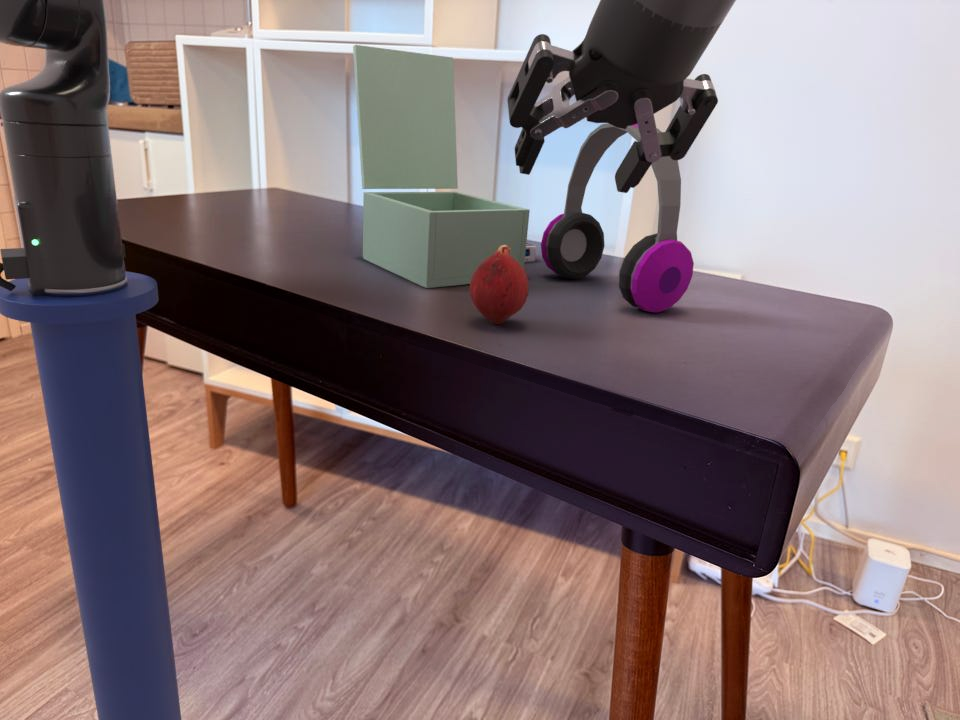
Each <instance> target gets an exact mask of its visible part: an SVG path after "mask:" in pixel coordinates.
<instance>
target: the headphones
mask: <svg viewBox="0 0 960 720" xmlns="http://www.w3.org/2000/svg"><path fill="white" fill-rule="evenodd" d="M656 128H657V133H659V132H662V131H661V130H660V128H659V127H656ZM627 133H628V134H629V136H631V138H633V139H634V141H637V142H639V141H640V140H641V137H640V133H639V129H638V125H637V124H635V125H632V126H627V128H626V129H622V128H617V127H615V126H613V125H611V124H609V123H600V125H599V126H597V127H596V128H594V129H593V130H592V131H591V132H590V133H589V134H588V135H587V137H586V138H585V140H584V142H583V143H582V145H581V146H580V148H579V150H578V151H579V152H578V154H577V157H576V159H575V162H574V165H573V168H572V171H571V174H570V177H569V181H568V184H567V190H566V197H565V204H564V210H563V213H561V214H559V215H557V216H555V217H554V218H553V219H552V220H551V221H549V223H548V224H547V226H546V228H545V229H544V231H543V233H542V238H541V242H540V251H541V258H542V260H543V262H544V263H545V266H546V267H547V268H548V269H549V270H551V272H553V273H554V274H555V275H559V276H560V277H562V278H565V279H570V280H577V279H583V278H584V277H587V276H588V275H589V274H591V273H592V272H593V271H594V270H595V269H596V268H597V266H598V264H599V263H600V262H601V260H602V259H603V253H604V249H605V232H604V230H603V228H602V226H601V223H600V222H599V221H598V220H597V219H596V218H595V217H594V216H593V215H592V214H590V213H585V212H583V210H582V207H583V202H584V199H585V193H586V189H587V185H588V184H589V182H590V179H591V177H592V174H593V172H594V170H595V168H596V167H597V166H598V163H599V162H600V161H601V159H602V157H603V156H604V154H605V153H606V151H607V150H608V149H609V148H610V147H611V146H612V145H613V144H614V143H615V142H616V141H617V140H618V139H619V138H620V137H623V136H624V135H626V134H627ZM679 165H680V164H679V160H672V159H671V157H670V156H666V157H661V158H660V159H659V160H657V161H655V162H653V163H652V164H651V166H650V167H651V168H652V171H653V174H654V177H655V179H656V183H657V185H656V186H657V198H658V217H657V232H656V233H653V234H649V235H645V236H644V237H643V238H642V239H640V240H639V241H637V242H636V243H635V244H633V246H632V247H631V248H630V250H629V251H628V252H627V254H626V255H625V256H624V258H623V261H622V264H621V267H620V269H619V272H618V273H619V275H618V276H619V277H618V278H619V279H618V287H619V291H620V293H621V296H622V298H623V299H624V301H626V302H627V303H628V304H630V305H631V306H632V307H635V308H640V309H641V311H644V312H651V313H660V312H663V311H666V310H669V309H670V308H671V307H673V306H674V305H675V304H677V303H678V302H679V301H680V300H681V298H682V297H683V296H684V294H685V293H686V292H687V291H688V288H689V286H690V284H691V282H692V279H693V274H694V265H695V263H694V259H693V255H692V251H691V250H690V249H689V248H688V247H687V246H686V245H685V244H684V243H683V241H680V240H678V228H679V219H680V212H681V204H682V203H681V200H682V199H681V197H682V177H681V171H680V166H679Z"/></svg>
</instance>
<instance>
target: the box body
mask: <svg viewBox="0 0 960 720" xmlns="http://www.w3.org/2000/svg"><path fill="white" fill-rule="evenodd" d="M362 194H363V195H362V196H363V197H362V198H363V199H362V201H363V204H362V205H363V209H362V259H363V260H365V261H367V262H369V263H372V264H374V265H375V266H378V267H379V268H382V269H384V270H386V271H388V272H390V273H393V274H395V275H397V276H399V277H401V278H404V279H405V280H407V281H410V282H412V283H413V284H416V285H419V286H421V287H423V288H425V289H433V288H434V289H435V288H442V287H452V286H453V287H454V286H462V285H470V283H471V278H472V276H473V274H474V272H475V271H476V269H477V268H478V266H479V265H480V264H481V263H482V262H483V261H484V260H485V259H487V258H488V257H490V256H492V255H493V254H494V253H495V252H496V251H497V249H498V248H499V247H500V246H502V245H507V246H508V247H509V248H510V249H511V251H510V256H511V257H512V258H514V259H515V260H516V261H517V262H518V263H519V264H520V265H521V266H522V268H523V269H524V270H525V263H526V262H525V253H526V243H528V242H527V241H528V231H529V221H530V212H531V211H530V209H529V208H524V207H521V206H516V205H512V204H507V203H504V202H499V201H496V200H491V199H488V198H484V197H480V196H475V195H471V194H467V193H463V192H459V191H377V192H376V191H373V192H371V191H368V192H367V191H364V192H363V193H362Z"/></svg>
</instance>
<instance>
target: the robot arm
mask: <svg viewBox="0 0 960 720" xmlns="http://www.w3.org/2000/svg"><path fill="white" fill-rule="evenodd" d="M736 1H737V0H600V1H599V2H598V5H597V7H596V9H595V12H594V14H593V17H592V18H591V21H590V23H589V24H588V28H587V31H586V34H585V36H584V39H583V40H582V41H581V42H580V43H579V44H578V45H577V46H576V47H575V48H574V49H573V50H568V49H565V48H563V47H559V46H556V45H552V41H551V37H549V35H548V34H544V33H541V34H540V33H539V34H538V35H536V36H535V37H534V38H533V40H532V42H531V44H530V47H529V49H528V51H527V53H526V56H525V58H524V60H523V63H522V65H521V66H520V69H519V71H518V73H517V75H516V78H515V80H514V83H513V85H512V87H511V90H510V92H509V93H508V96H507V98H506V99H507V108H508V109H507V111H508V119H509V120H508V121H509V125H510V126H511V127H512V128H514V129H515V128H516V129H519V128H521V131H520V134H519V136H518V138H517V141H516V143H515V145H514V158H515V166H516V167H518V169H519V174H522V175H528V176H530V174H531V173H532V170H533V168H534V166H535V164H536V161H537V159H538V157H539V155H540V152H541V151H542V148H543V146H544V144H545V142H546V141H545V137H547V136H549V135H550V134H552V133H553V132H555V131H556V130H558V129H560V128H563V129H569V128H571V127H572V126H574V125H575V124H577V123H579V122H581V121H582V120H584V119H585V118H586V122H589V123H595V124H607V123H609V124H611V125H613V126H615V127H617V128H622V129H626V128H627V126H632V125H635V124H637V125H638V129H639V133H640V137H641V140H640V141H639V142H638V141H636V140H634V141H633V143H632V145H631V146H630V148H629V149H628V151H627V153H626V155H625V156H624V158H623V159H622V161H621V163H620V164H619V166H618V168H617V169H616V171H615V173H614V181H615V186H616V187H615V188H616V191H617V192H618V193H624V194H627V193H629V191H630V189H634V188H636V187H637V186H639V184H640V182H641V181H642V180H643V178H644V177H645V175H646V174H647V172H648V170H649V169H650V168H651V167H652V166H651V164H652V163H653V162H655V161H657V160H659V159H660V158H661V157H666V156H670V157H671V159H672V160H678V161H680V160H682V159H684V158H685V157H686V156H687V154H688V152H689V150H690V149H691V147H692V146H693V144H694V142H695V141H696V139H697V138H698V136H699V135H700V132H701V131H702V130H703V128H704V126H705V125H706V123H707V121H708V120H709V118H710V116H711V114H712V113H713V111H714V110H715V108H716V106H717V105H718V103H719V99H718V95H717V92H716V89H715V86H714V83H713V81H712V78H711V76H710V75H709V74H707V73H701V74H699V75H698V76H696V77H695V78H694V79H692V78H688V77H689V76H690V75H691V73H692V72H693V70H695V68H696V66H697V64H698V62H699V61H700V59H701V58H702V56H703V54H704V53H705V51H706V50H707V48H708V46H709V45H710V43H711V41H712V40H713V38H714V37H715V35H716V34H717V32H718V31H719V29H720V27H721V26H722V24H723V22H724V21H725V19H726V17H727V16H728V14H729V12H730V11H731V9H732V8H733V6H734V4H735V3H736ZM105 6H106V5H105V0H0V43H2V44H5V45H8V46H14V47H21V48H22V47H23V48H28V49H29V48H30V49H37V50H45V61H44V62H45V63H44V67H43V68H42V70H41V71H40V72H38V73H37V74H36V75H35V76H33V77H32V78H29V79H28V80H26V81H25V80H24V81H22V82H20V83H17V84H13V85H11V86H8V87H4V88H3V89H2V90H0V118H1V119H2V120H1V122H2V128H3V135H4V140H5V146H6V152H7V157H8V158H7V159H8V164H9V170H10V175H11V182H12V187H13V194H14V197H13V201H14V206H15V212H16V219H17V224H18V229H19V236H20V242H21V247H15V248H0V256H1V257H0V258H1V262H0V286H1V287H3V288H5V289H7V290H9V291H12V290H13V289H14V288H15V287H16V286H15V285H14V284H12V283H10V282H9V280H14V279H23V278H28V285H29V290H30V291H31V293H32V296H34V297H36V296H54V297H82V296H93V295H100V294H106V293H110V292H114V291H117V290H120V289H122V288H124V287H126V286H127V284H128V282H127V276H126V274H125V271H126V264H125V258H126V256H127V255H126V247H125V243H123V240H122V239H123V238H122V230H121V223H120V214H119V213H120V212H119V205H118V195H117V187H116V181H115V180H116V179H115V171H114V170H115V169H114V162H113V155H112V154H113V153H112V145H111V137H110V129H109V125H108V124H109V121H108V105H109V101H110V97H111V96H110V95H111V79H110V78H111V77H110V66H109V65H110V64H109V46H108V45H109V44H108V27H107V15H106V7H105ZM562 72H568V77H566V78H565V79H563V80H562V81H560V82H558V83H557V84H555V85H554V86H553V87H552V88H551V90H550V92H549V94H548V95H546V96H544V97H542V98H541V99H540V100H539V97H540V95H541V94H542V91H543V89H544V87H545V85H546V83H547V84H551V83H553V82H554V80H555V79H556V77H557V76H558V75H559V74H560V73H562ZM573 96H574V98H575V102H574V103H572V104H570V100H571V98H572V97H573ZM677 100H679V104H680V105H679V107H678V108H677V110H676V111H675V114H674V116H672V119H671V121H670V123H669V125H668V126H667V128H666V130H665V131H661V132H659V133H657V128H658V127H657V123H656V120H655V114H657V113H658V112H660V111H661V110H663V109H665V108H667V107H668V106H670V105H672V104H674V103H675V102H677ZM3 272H4V278H3V277H2V273H3Z"/></svg>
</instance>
